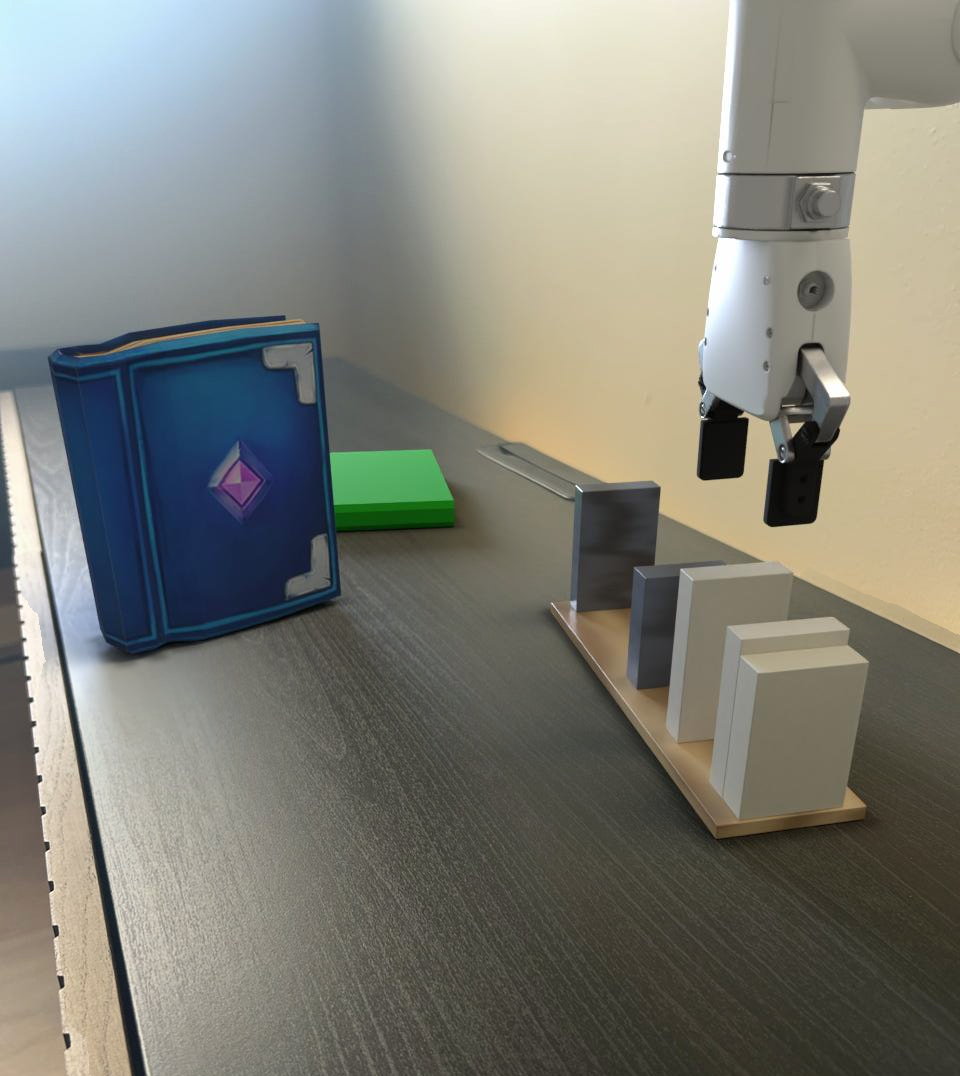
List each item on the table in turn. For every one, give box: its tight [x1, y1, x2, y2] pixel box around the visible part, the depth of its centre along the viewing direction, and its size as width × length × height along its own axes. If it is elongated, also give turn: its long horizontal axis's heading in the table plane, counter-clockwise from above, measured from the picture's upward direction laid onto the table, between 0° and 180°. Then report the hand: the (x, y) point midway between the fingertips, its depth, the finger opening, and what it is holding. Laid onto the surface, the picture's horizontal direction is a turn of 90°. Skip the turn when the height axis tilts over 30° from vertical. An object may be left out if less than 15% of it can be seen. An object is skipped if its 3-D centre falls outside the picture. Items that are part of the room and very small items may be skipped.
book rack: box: [550, 480, 867, 840], centre depth 78 cm, size 10×36×12 cm, turn 13°
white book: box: [666, 560, 794, 743], centre depth 71 cm, size 7×2×12 cm, turn 103°
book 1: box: [47, 314, 342, 655], centre depth 88 cm, size 22×7×25 cm, turn 129°
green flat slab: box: [330, 448, 456, 532], centre depth 124 cm, size 22×28×3 cm
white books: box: [709, 616, 870, 820], centre depth 64 cm, size 7×4×11 cm, turn 103°
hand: (752, 499), depth 67 cm, fingers open, 9 cm apart
